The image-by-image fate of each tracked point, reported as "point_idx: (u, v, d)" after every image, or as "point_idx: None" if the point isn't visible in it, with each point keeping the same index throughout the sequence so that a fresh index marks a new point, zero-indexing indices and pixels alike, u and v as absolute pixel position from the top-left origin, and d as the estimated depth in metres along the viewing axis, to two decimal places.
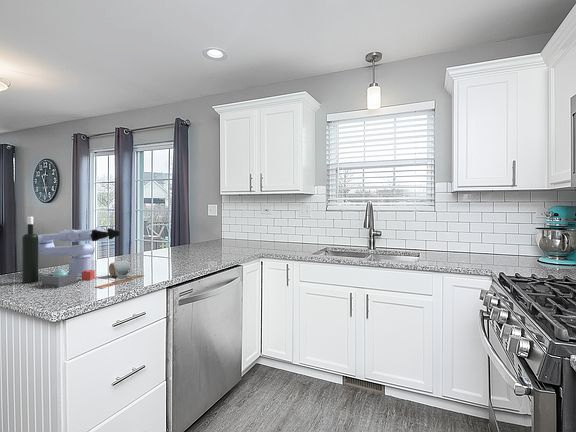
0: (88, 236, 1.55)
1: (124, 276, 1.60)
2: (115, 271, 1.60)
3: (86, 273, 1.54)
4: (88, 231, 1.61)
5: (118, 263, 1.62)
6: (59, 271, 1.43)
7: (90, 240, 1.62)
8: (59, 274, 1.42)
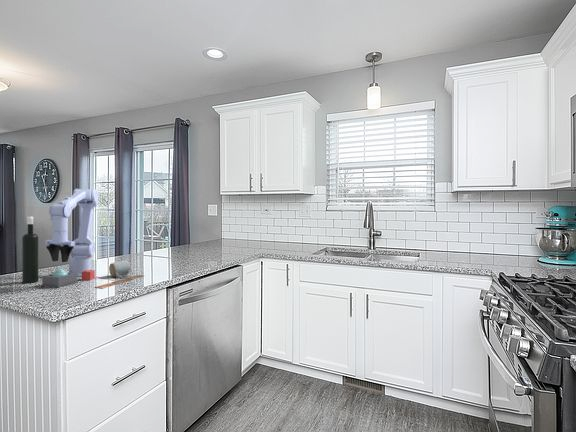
0: None
1: (124, 276, 1.60)
2: (115, 271, 1.60)
3: (86, 273, 1.54)
4: (52, 232, 1.43)
5: (119, 264, 1.62)
6: (59, 271, 1.43)
7: None
8: (59, 274, 1.42)
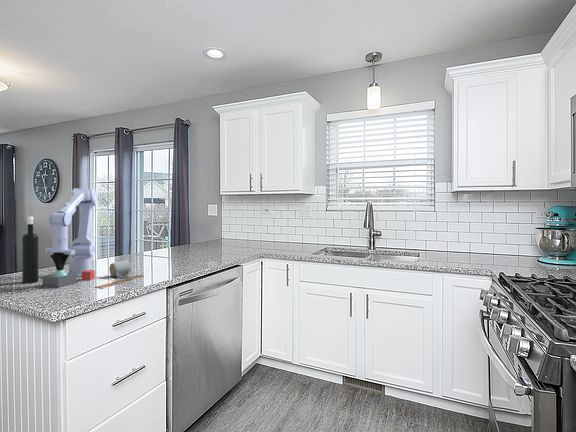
0: None
1: (125, 276, 1.60)
2: (116, 271, 1.60)
3: (86, 273, 1.54)
4: (52, 240, 1.43)
5: (119, 264, 1.62)
6: (59, 272, 1.43)
7: None
8: (59, 275, 1.42)
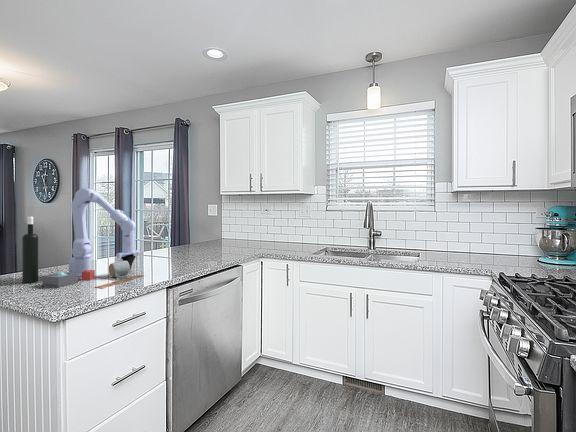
0: (117, 256, 1.62)
1: (124, 277, 1.58)
2: (115, 272, 1.58)
3: (86, 273, 1.54)
4: (128, 245, 1.66)
5: (118, 264, 1.60)
6: (59, 274, 1.43)
7: None
8: None
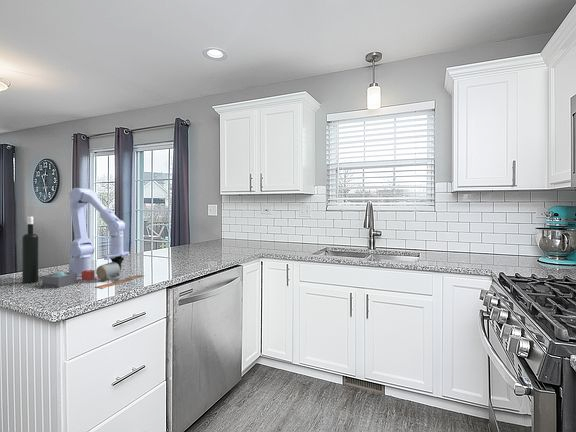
0: (105, 258, 1.54)
1: (117, 278, 1.54)
2: (106, 274, 1.52)
3: (86, 273, 1.54)
4: (117, 246, 1.58)
5: (108, 266, 1.54)
6: (59, 274, 1.43)
7: None
8: None
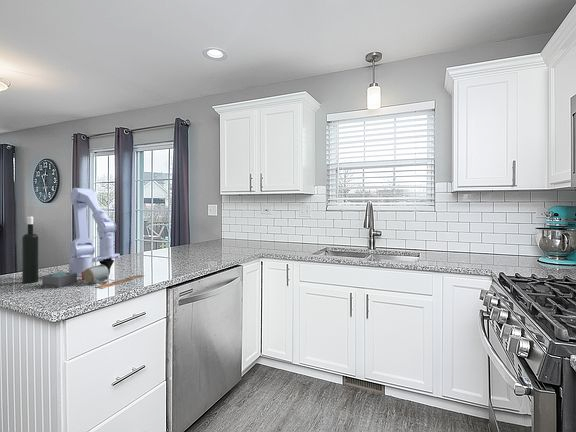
0: (93, 260, 1.48)
1: (104, 282, 1.47)
2: (93, 277, 1.46)
3: None
4: (106, 248, 1.52)
5: (96, 269, 1.48)
6: (59, 274, 1.43)
7: None
8: None
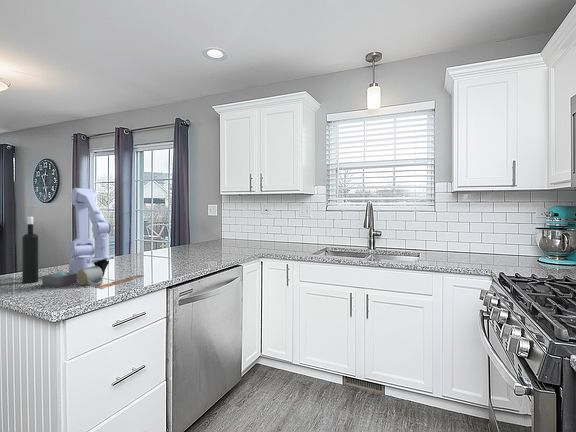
0: (87, 262, 1.45)
1: (98, 284, 1.44)
2: (87, 279, 1.43)
3: None
4: (101, 249, 1.49)
5: (89, 270, 1.45)
6: (59, 274, 1.43)
7: None
8: None
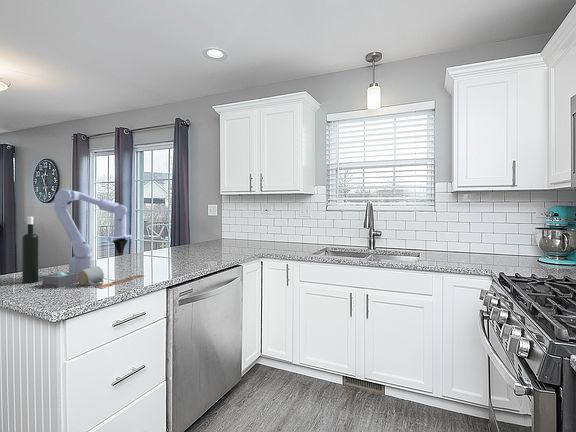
0: (109, 239, 1.64)
1: (99, 284, 1.44)
2: (88, 279, 1.42)
3: None
4: (120, 228, 1.68)
5: (90, 271, 1.45)
6: (59, 274, 1.43)
7: None
8: None
